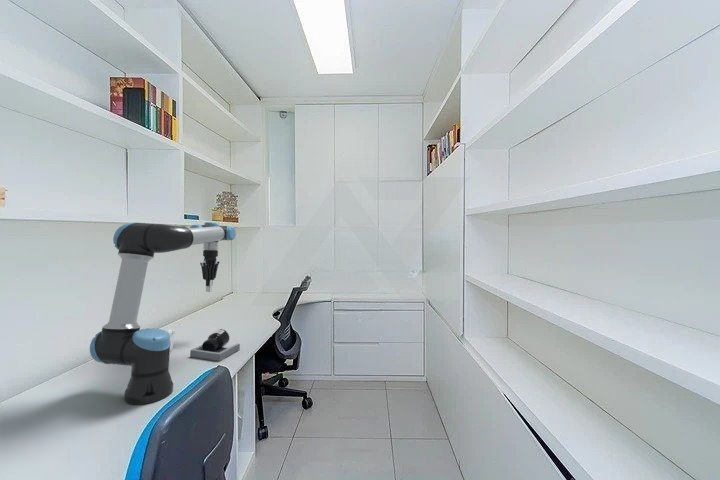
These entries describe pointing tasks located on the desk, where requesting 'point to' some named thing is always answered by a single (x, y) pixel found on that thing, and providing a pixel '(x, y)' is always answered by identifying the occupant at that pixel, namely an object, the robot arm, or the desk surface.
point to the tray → (214, 353)
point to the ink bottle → (216, 341)
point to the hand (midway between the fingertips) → (208, 291)
